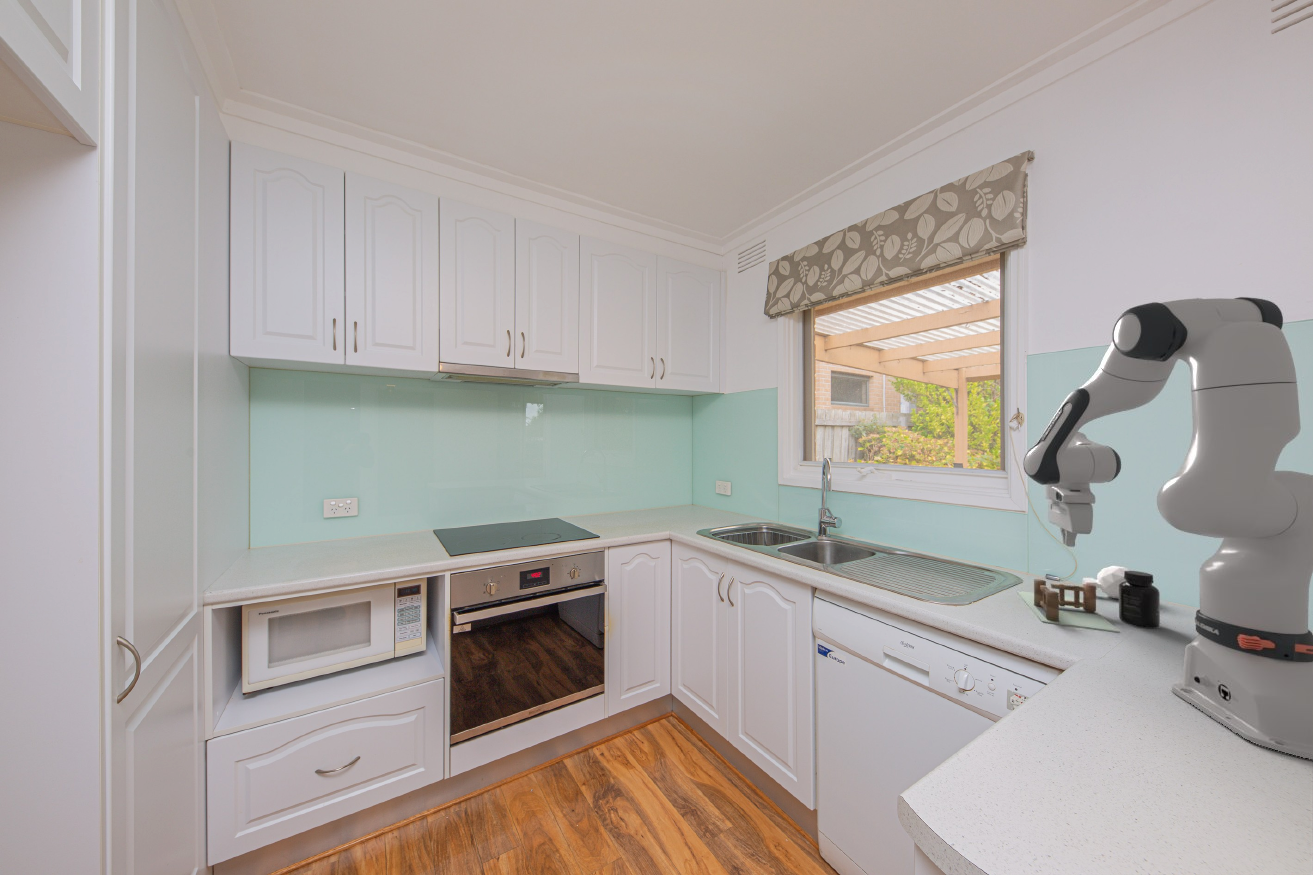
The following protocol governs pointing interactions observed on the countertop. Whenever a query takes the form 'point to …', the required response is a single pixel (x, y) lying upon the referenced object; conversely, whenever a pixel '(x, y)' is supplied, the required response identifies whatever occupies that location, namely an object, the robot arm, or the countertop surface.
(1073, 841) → the countertop surface
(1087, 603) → the fence gate
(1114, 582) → the perfume bottle
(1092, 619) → the mat
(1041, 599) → the fence fixed
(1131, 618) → the supplement bottle
